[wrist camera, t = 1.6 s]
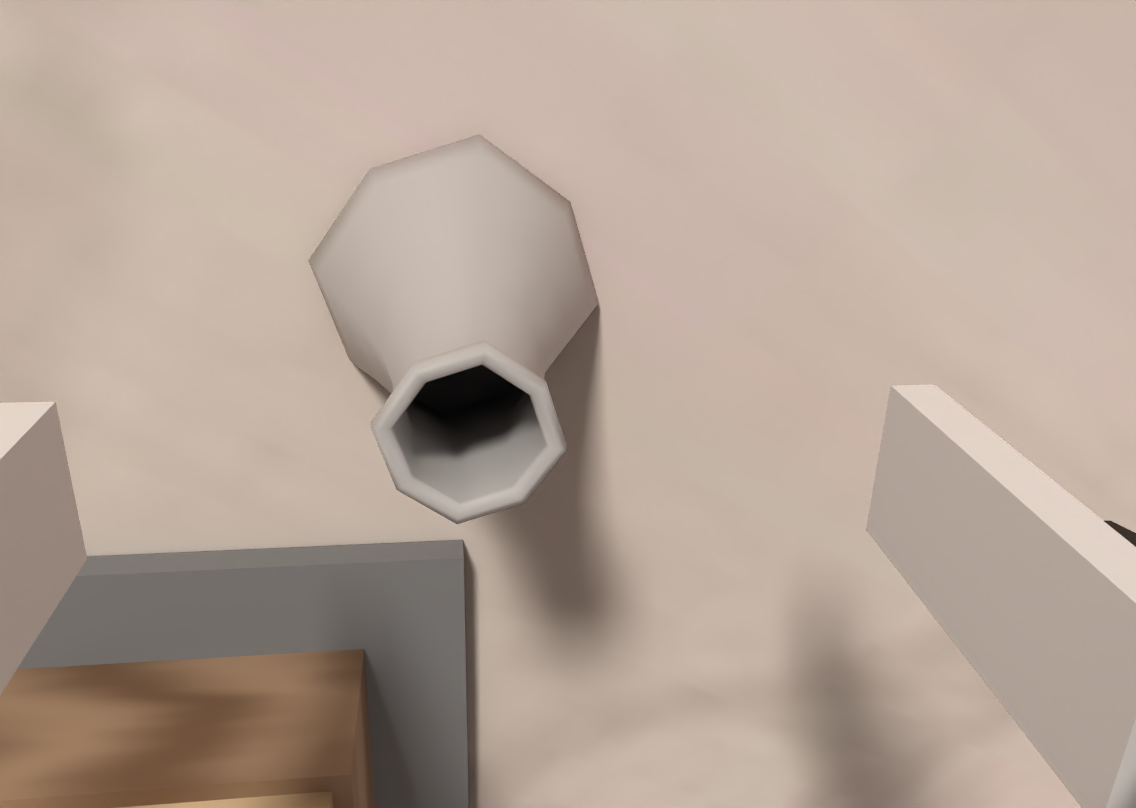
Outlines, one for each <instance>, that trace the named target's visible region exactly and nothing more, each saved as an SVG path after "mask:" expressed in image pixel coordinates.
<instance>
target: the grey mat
mask: <svg viewBox="0 0 1136 808" xmlns="http://www.w3.org/2000/svg"><path fill="white" fill-rule="evenodd" d="M355 649H364V655H365V669H366V683H367V698H368V712H369V726H370V740H371V754H372V769H373V783H374V797H375V808H469V802H468V750H467V699H466V647H465V596H464V553H463V540H449V541H426V542H404V543H381V544H359V545H336V546H314V547H292V548H269V549H247V550H224V551H202V552H180V553H157V554H135V555H112V556H90V557H87V560H86V562H85V563H84V565H83V566H82V568H81V569H80V571H79V573H78V574H77V576H76V577H75V579H74V580H73V582H72V584H71V585H70V587H69V588H68V590H67V591H66V593H65V595H64V596H63V598H62V599H61V601H60V602H59V604H58V606H57V607H56V609H55V610H54V612H53V613H52V615H51V617H50V618H49V620H48V621H47V623H46V624H45V626H44V627H43V629H42V631H41V632H40V634H39V635H38V637H37V638H36V640H35V642H34V643H33V645H32V646H31V648H30V649H29V651H28V653H27V654H26V656H25V657H24V659H23V660H22V662H21V664H20V665H19V667H18V668H17V669H30V668H47V667H64V666H81V665H98V664H116V663H133V662H150V661H167V660H184V659H201V658H218V657H235V656H253V655H270V654H287V653H304V652H321V651H338V650H355Z"/></svg>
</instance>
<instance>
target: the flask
mask: <svg viewBox="0 0 1136 808" xmlns="http://www.w3.org/2000/svg"><path fill="white" fill-rule="evenodd" d="M309 263H310V265H311V268H312V270H313V273H314V275H315V277H316V280H317V282H318V285H319V287H320V290H321V292H322V294H323V297H324V299H325V302H326V304H327V307H328V309H329V311H330V314H331V316H332V319H333V321H334V323H335V326H336V328H337V331H338V333H339V336H340V338H341V340H342V343H343V345H344V348H345V350H346V353H347V355H348V357H349V360H350V361H351V362H352V363H354V364H355V365H356V366H357V367H358V368H360V369H361V370H363V371H364V372H365V373H367V374H368V375H370V376H371V377H372V378H374V379H375V380H376V381H378V382H379V383H380V384H381V385H382V386H383V387H384V388H385V389H386V390H387V391H388V392H389V393H390V394H391V395H390V396H389V398H388V399H387V400H386V402H385V403H384V405H383V406H382V407H381V409H380V410H379V411H378V413H377V414H376V416H375V417H374V418H373V420H372V421H371V429H372V431H373V434H374V436H375V438H376V441H377V443H378V446H379V448H380V450H381V453H382V455H383V458H384V460H385V462H386V465H387V467H388V470H389V472H390V475H391V477H392V479H393V482H394V484H395V487H396V489H397V490H398V491H400V492H402V493H403V494H405V495H407V496H409V497H410V498H412V499H414V500H416V501H417V502H419V503H421V504H423V505H424V506H426V507H428V508H430V509H431V510H433V511H435V512H437V513H438V514H440V515H442V516H444V517H445V518H447V519H449V520H451V521H452V522H454V523H456V524H459V523H462V522H466V521H469V520H472V519H475V518H478V517H481V516H485V515H488V514H491V513H494V512H497V511H500V510H504V509H507V508H510V507H513V506H516V505H519V504H523V503H525V502H526V501H527V499H528V498H529V497H530V496H531V494H532V493H533V492H534V491H535V489H536V488H537V487H538V486H539V484H540V483H541V482H542V481H543V479H544V478H545V477H546V476H547V474H548V473H549V472H550V471H551V469H552V468H553V467H554V466H555V464H556V463H557V462H558V461H559V459H560V458H561V457H562V456H563V454H564V453H565V452H566V451H567V446H566V442H565V439H564V436H563V433H562V429H561V426H560V423H559V420H558V417H557V414H556V411H555V407H554V404H553V401H552V398H551V395H550V392H549V389H548V386H547V382H546V381H545V380H544V377H545V373H546V371H547V370H548V368H549V367H550V366H551V364H552V363H553V362H554V360H555V359H556V358H557V357H558V355H559V354H560V353H561V351H562V350H563V349H564V348H565V346H566V345H567V344H568V342H569V341H570V340H571V338H572V337H573V336H574V335H575V333H576V332H577V331H578V329H579V328H580V327H581V326H582V324H583V323H584V322H585V320H586V319H587V318H588V316H589V315H590V314H591V313H592V311H593V310H594V308H595V307H596V306H597V304H598V303H599V302H598V298H597V295H596V291H595V288H594V284H593V280H592V277H591V273H590V270H589V266H588V263H587V259H586V256H585V252H584V249H583V245H582V242H581V238H580V234H579V231H578V227H577V224H576V220H575V217H574V213H573V210H572V206H571V203H570V201H569V200H567V199H566V198H564V197H563V196H562V195H560V194H559V193H558V192H556V191H555V190H554V189H552V188H551V187H550V186H548V185H547V184H546V183H544V182H543V181H542V180H540V179H539V178H538V177H536V176H535V175H533V174H532V173H531V172H529V171H528V170H527V169H525V168H524V167H523V166H521V165H520V164H519V163H517V162H516V161H515V160H513V159H512V158H511V157H509V156H508V155H507V154H505V153H504V152H503V151H501V150H500V149H498V148H497V147H496V146H494V145H493V144H492V143H490V142H489V141H488V140H486V139H485V138H484V137H482V136H481V135H476V136H473V137H470V138H467V139H464V140H461V141H457V142H454V143H451V144H448V145H445V146H441V147H438V148H435V149H432V150H429V151H425V152H422V153H419V154H416V155H413V156H409V157H406V158H403V159H400V160H397V161H393V162H390V163H387V164H384V165H381V166H377V167H374V168H371V169H370V170H369V171H368V173H367V174H366V176H365V177H364V178H363V180H362V181H361V183H360V184H359V186H358V187H357V189H356V190H355V192H354V193H353V195H352V196H351V198H350V199H349V201H348V202H347V204H346V205H345V207H344V208H343V210H342V211H341V213H340V214H339V216H338V217H337V219H336V220H335V222H334V223H333V225H332V226H331V228H330V229H329V231H328V232H327V234H326V235H325V237H324V238H323V240H322V241H321V243H320V244H319V246H318V247H317V249H316V250H315V252H314V253H313V255H312V256H311V258H310V259H309Z"/></svg>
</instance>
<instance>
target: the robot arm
mask: <svg viewBox="0 0 1136 808" xmlns="http://www.w3.org/2000/svg"><path fill="white" fill-rule="evenodd" d="M866 530H867V532H868V533H869V534H870V535H871V537H872V538H873V539H874V541H875V542H876V543H877V545H878V546H879V547H880V548H881V550H882V551H883V552H884V554H885V555H886V556H887V557H888V559H889V560H890V561H891V563H892V564H893V565H894V566H895V568H896V569H897V570H898V572H899V573H900V574H901V575H902V577H903V578H904V579H905V581H906V582H907V583H908V584H909V586H910V587H911V588H912V590H913V591H914V592H915V593H916V595H917V596H918V597H919V599H920V600H921V601H922V602H923V604H924V605H925V606H926V608H927V609H928V610H929V611H930V613H931V614H932V615H933V617H934V618H935V619H936V620H937V622H938V623H939V624H940V626H941V627H942V628H943V630H944V631H945V632H946V633H947V635H948V636H949V637H950V639H951V640H952V641H953V642H954V644H955V645H956V646H957V648H958V649H959V650H960V651H961V653H962V654H963V655H964V657H965V658H966V659H967V660H968V662H969V663H970V664H971V666H972V667H973V668H974V669H975V671H976V672H977V673H978V675H979V676H980V677H981V678H982V680H983V681H984V682H985V684H986V685H987V686H988V687H989V689H990V690H991V691H992V693H993V694H994V695H995V696H996V698H997V699H998V700H999V702H1000V703H1001V704H1002V705H1003V707H1004V708H1005V709H1006V711H1007V712H1008V713H1009V715H1010V716H1011V717H1012V718H1013V720H1014V721H1015V722H1016V724H1017V725H1018V726H1019V727H1020V729H1021V730H1022V731H1023V733H1024V734H1025V735H1026V736H1027V738H1028V739H1029V740H1030V742H1031V743H1032V744H1033V745H1034V747H1035V748H1036V749H1037V751H1038V752H1039V753H1040V754H1041V756H1042V757H1043V758H1044V760H1045V761H1046V762H1047V763H1048V765H1049V766H1050V767H1051V769H1052V770H1053V771H1054V772H1055V774H1056V775H1057V776H1058V778H1059V779H1060V780H1061V781H1062V783H1063V784H1064V785H1065V787H1066V788H1067V789H1068V790H1069V792H1070V793H1071V794H1072V796H1073V797H1074V798H1075V799H1076V801H1077V802H1078V803H1079V805H1080V806H1081V807H1082V808H1136V533H1134V532H1132V531H1130V530H1128V529H1126V528H1124V527H1122V526H1120V525H1118V524H1116V523H1114V522H1112V521H1103V520H1102V519H1100V518H1099V517H1098V516H1097V515H1095V514H1094V513H1093V512H1092V511H1091V510H1089V509H1088V508H1087V507H1086V506H1084V505H1083V504H1082V503H1081V502H1079V501H1078V500H1077V499H1076V498H1074V497H1073V496H1072V495H1071V494H1069V493H1068V492H1067V491H1066V490H1065V489H1063V488H1062V487H1061V486H1060V485H1058V484H1057V483H1056V482H1055V481H1053V480H1052V479H1051V478H1050V477H1048V476H1047V475H1046V474H1045V473H1043V472H1042V471H1041V470H1040V469H1039V468H1037V467H1036V466H1035V465H1034V464H1032V463H1031V462H1030V461H1029V460H1027V459H1026V458H1025V457H1024V456H1022V455H1021V454H1020V453H1019V452H1017V451H1016V450H1015V449H1014V448H1013V447H1011V446H1010V445H1009V444H1008V443H1006V442H1005V441H1004V440H1003V439H1001V438H1000V437H999V436H998V435H996V434H995V433H994V432H993V431H991V430H990V429H989V428H988V427H987V426H985V425H984V424H983V423H982V422H980V421H979V420H978V419H977V418H975V417H974V416H973V415H972V414H970V413H969V412H968V411H967V410H965V409H964V408H963V407H962V406H960V405H959V404H958V403H957V402H956V401H954V400H953V399H952V398H951V397H949V396H948V395H947V394H946V393H944V392H943V391H942V390H941V389H939V388H938V387H937V386H936V385H894V386H891V388H890V394H889V399H888V405H887V411H886V417H885V423H884V429H883V434H882V440H881V446H880V452H879V458H878V463H877V469H876V475H875V481H874V487H873V493H872V498H871V504H870V510H869V516H868V522H867V527H866ZM86 560H87V556H86V551H85V546H84V541H83V536H82V531H81V526H80V521H79V516H78V511H77V506H76V501H75V497H74V492H73V487H72V482H71V477H70V472H69V467H68V462H67V457H66V452H65V447H64V442H63V437H62V432H61V427H60V422H59V417H58V412H57V407H56V402H23V403H1V404H0V695H1V693H2V692H3V690H4V689H5V687H6V686H7V684H8V682H9V681H10V679H11V678H12V676H13V675H14V673H15V671H16V670H17V668H18V667H19V665H20V664H21V662H22V660H23V659H24V657H25V656H26V654H27V653H28V651H29V649H30V648H31V646H32V645H33V643H34V642H35V640H36V638H37V637H38V635H39V634H40V632H41V631H42V629H43V627H44V626H45V624H46V623H47V621H48V620H49V618H50V617H51V615H52V613H53V612H54V610H55V609H56V607H57V606H58V604H59V602H60V601H61V599H62V598H63V596H64V595H65V593H66V591H67V590H68V588H69V587H70V585H71V584H72V582H73V580H74V579H75V577H76V576H77V574H78V573H79V571H80V569H81V568H82V566H83V565H84V563H85V562H86Z"/></svg>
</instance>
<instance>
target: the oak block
mask: <svg viewBox="0 0 1136 808" xmlns="http://www.w3.org/2000/svg"><path fill="white" fill-rule="evenodd" d="M120 808H333V798H332V791H328V792H315V793H302V794H289V795H276V796H263V797H250V798H237V799H224V800H211V801H198V802H185V803H172V804H159V805H146V806H133V807H120Z"/></svg>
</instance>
